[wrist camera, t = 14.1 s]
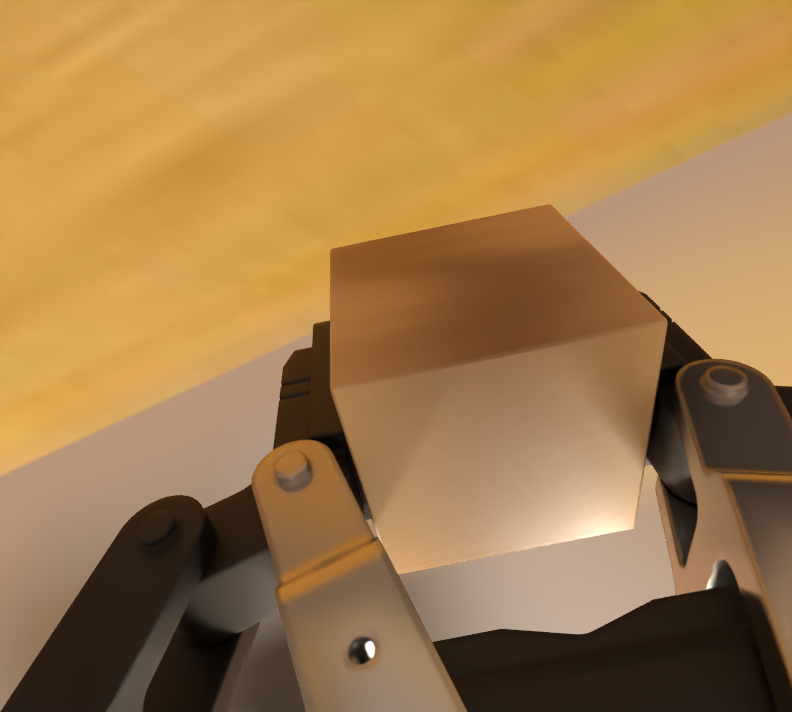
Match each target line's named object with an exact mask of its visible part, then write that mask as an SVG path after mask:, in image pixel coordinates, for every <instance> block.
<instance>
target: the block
mask: <svg viewBox="0 0 792 712" xmlns="http://www.w3.org/2000/svg"><path fill="white" fill-rule="evenodd" d="M667 325H668V322H667V319H666V318H665V317H664V316H663V315H662V314H661V313H660V312H659V311H658V310H657V309H656V308H655V307H654V306H653V305H652V304H651V303H650V302H649V301H648V300H647V299H646V298H645V297H644V296H643V295H642V294H641V293H640V292H639V291H638V290H637V289H636V288H635V287H634V286H632V285H631V284H630V283H629V282H628V281H627V280H626V279H625V278H624V277H623V276H622V275H621V274H620V273H619V272H618V271H617V270H616V269H615V268H614V267H613V266H612V265H611V264H610V263H609V262H608V261H607V260H606V259H605V258H604V257H603V256H602V255H601V254H600V253H599V252H598V251H597V250H596V249H595V248H594V247H593V246H592V245H591V244H590V243H589V242H588V241H587V240H586V239H585V238H584V237H583V236H582V235H581V234H580V233H579V232H578V231H577V230H576V229H575V228H574V227H573V226H572V225H571V224H570V223H569V222H568V221H567V220H566V219H565V218H564V217H563V216H562V215H561V214H560V213H559V212H558V211H557V210H556V209H555V208H554V207H553V206H552V205H550V204H548V205H543V206H538V207H534V208H529V209H524V210H519V211H514V212H509V213H504V214H499V215H495V216H490V217H485V218H480V219H475V220H470V221H465V222H460V223H456V224H451V225H446V226H441V227H436V228H431V229H426V230H421V231H417V232H412V233H407V234H402V235H397V236H392V237H387V238H382V239H378V240H373V241H368V242H363V243H358V244H353V245H348V246H343V247H339V248H334V249H331V251H330V391H331V394H332V397H333V400H334V403H335V407H336V410H337V413H338V416H339V419H340V422H341V425H342V428H343V431H344V434H345V438H346V441H347V444H348V447H349V450H350V453H351V456H352V459H353V462H354V466H355V469H356V472H357V475H358V478H359V481H360V484H361V487H362V490H363V493H364V497H365V500H366V503H367V506H368V509H369V512H370V515H371V518H372V521H373V524H374V527H375V531H376V534H377V537H378V538H379V540H380V541H381V543H382V544H383V546H384V548H385V550H386V552H387V554H388V556H389V558H390V560H391V562H392V564H393V566H394V568H395V570H396V572H397V574H402V573H407V572H412V571H417V570H423V569H428V568H433V567H438V566H443V565H448V564H453V563H459V562H464V561H469V560H474V559H479V558H485V557H490V556H495V555H500V554H505V553H510V552H516V551H521V550H526V549H531V548H536V547H541V546H546V545H551V544H557V543H562V542H567V541H572V540H578V539H582V538H588V537H593V536H598V535H603V534H609V533H613V532H619V531H624V530H629V529H633V528H634V527H635V524H636V517H637V511H638V504H639V498H640V492H641V486H642V480H643V474H644V467H645V461H646V455H647V449H648V443H649V437H650V430H651V424H652V418H653V412H654V405H655V399H656V393H657V387H658V381H659V374H660V368H661V362H662V356H663V350H664V343H665V337H666V331H667Z"/></svg>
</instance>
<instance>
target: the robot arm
mask: <svg viewBox="0 0 792 712" xmlns="http://www.w3.org/2000/svg"><path fill="white" fill-rule="evenodd" d="M639 292H640V291H639ZM640 293H641V294H642V295H643V296H644V297H645V298H646V299H647V300H648V301H649V302H650V303H651V304H652V305H653V306H654V307H655V308H656V309H657V310H658V311H659V312H660V313H661V314H662V315H663V316H664V317H665V318H666V319H667V322H668V325H667V331H666V337H665V343H664V350H663V356H662V362H661V368H660V374H659V381H658V387H657V393H656V399H655V405H654V412H653V418H652V424H651V430H650V437H649V443H648V449H647V455H646V461H645V466H646V465H652V466H653V467H654V469H655V470H656V472H657V473H658V477H657V482H656V488H655V489H656V496H657V500H658V505H659V510H660V514H661V520H662V524H663V529H664V534H665V538H666V543H667V548H668V553H669V557H670V562H671V567H672V572H673V576H674V583H675V596H670V597H664V598H660V599H654V600H652V601H650V602H648V603H646V604H644V605H642V606H640V607H638V608H636V609H635V610H632V611H631V612H629V613H627V614H625V615H623V616H621V617H619V618H617V619H615V620H613V621H611V622H610V623H608V624H606V625H604V626H602V627H600V628H598V629H596V630H594V631H592V632H590V633H587V634H563V633H549V632H537V631H523V630H510V629H509V630H508V629H498V630H493V631H488V632H483V633H477V634H472V635H467V636H462V637H457V638H451V639H446V640H441V641H436V642H432V641H431V639H430V637H429V635H428V633H427V631H426V629H425V627H424V625H423V623H422V621H421V619H420V617H419V615H418V614H417V611H416V610H415V607H414V605H413V603H412V601H411V600H410V598H409V595H408V594H407V591H406V589H405V588H404V586H403V584H402V582H401V580H400V578H399V576H398V574H397V572H396V570H395V568H394V566H393V564H392V562H391V560H390V558H389V556H388V554H387V552H386V550H385V548H384V546H383V544H382V543H381V541H380V540H379V538H378V537H376V538H375V537H374V535H373V533H372V531H371V529H370V527H369V525H368V523H367V521H366V520H368V519H372V518H371V515H370V512H369V509H368V506H367V503H366V500H365V497H364V493H363V490H362V487H361V484H360V481H359V478H358V475H357V472H356V469H355V466H354V462H353V459H352V456H351V453H350V450H349V447H348V444H347V441H346V438H345V434H344V431H343V428H342V425H341V422H340V419H339V416H338V413H337V410H336V407H335V403H334V400H333V397H332V394H331V391H330V321H325V322H320V323H316V324H314V325H313V343H312V347H311V348H306V349H301V350H297V351H294V352H293V354H292V355H291V357H290V358H289V360H288V361H287V363H286V364H285V365H284V367H283V374H282V382H281V383H282V387H281V391H280V401H279V406H278V415H277V423H276V431H275V439H274V447H273V451H271V452H270V453H269V454H267V455H266V456H265V457H264V458H263V459H262V460H261V461H260V463H259V464H258V466H257V467H256V469H255V471H254V473H253V476H252V484H251V485H249V486H248V487H246V488H245V489H244V490H242V491H240V492H238V493H236V494H234V495H232V496H230V497H228V498H226V499H223V500H221V501H219V502H217V503H215V504H213V505H211V506H208V507H206V508H204V509H203V507H202V506H201V504H200V503H199V502H198V501H197V500H195V499H194V498H192V497H189V496H183V495H176V496H170V497H165V498H162V499H159V500H157V501H155V502H153V503H151V504H149V505H147V506H146V507H144V508H143V509H141V510H140V511H139V512H137V513H136V514H135V515H134V516H133V517H131V518H130V519H129V521H128V522H127V523H126V524H125V525H124V526H123V528H122V529H121V530H120V532H119V533H118V535H117V536H116V538H115V539H114V541H113V543H112V544H111V545H110V547H109V548H108V550H107V552H106V553H105V555H104V556H103V558H102V559H101V561H100V562H99V564H98V565H97V567H96V568H95V570H94V571H93V573H92V574H91V576H90V577H89V579H88V580H87V582H86V583H85V585H84V587H83V588H82V589H81V591H80V592H79V594H78V595H77V597H76V598H75V600H74V601H73V603H72V604H71V606H70V608H69V609H68V610H67V612H66V613H65V615H64V616H63V618H62V620H61V621H60V623H59V624H58V626H57V627H56V629H55V630H54V632H53V633H52V635H51V636H50V638H49V639H48V641H47V642H46V644H45V645H44V647H43V648H42V650H41V651H40V653H39V654H38V656H37V657H36V659H35V660H34V662H33V663H32V665H31V666H30V668H29V669H28V671H27V672H26V674H25V675H24V677H23V678H22V680H21V682H20V683H19V684H18V686H17V687H16V689H15V691H14V692H13V694H12V695H11V697H10V698H9V700H8V701H7V703H6V704H5V706H4V707H3V709H2V710H1V712H228V710H229V707H230V704H231V702H232V699H233V696H234V693H235V691H236V688H237V685H238V682H239V680H240V677H241V674H242V671H243V669H244V666H245V663H246V660H247V658H248V655H249V652H250V649H251V647H252V644H253V641H254V638H255V635H256V633H257V630H258V627H259V624H260V621H262V620H263V619H265V618H267V617H269V616H271V615H273V614H274V613H276V612H278V611H279V612H280V616H281V619H282V623H283V627H284V630H285V634H286V638H287V642H288V645H289V649H290V653H291V657H292V660H293V664H294V668H295V671H296V675H297V679H298V682H299V686H300V690H301V694H302V697H303V701H304V704H305V708H306V712H792V387H787V386H774V385H773V383H772V382H771V381H770V380H769V379H768V378H767V377H766V376H765V375H764V374H763V373H761V372H760V371H758V370H756V369H754V368H752V367H750V366H748V365H745V364H742V363H739V362H735V361H731V360H724V359H712V358H711V357H710V356H709V355H708V354H707V353H706V352H705V351H704V350H703V349H702V348H701V347H700V346H699V345H698V344H697V343H696V342H695V341H694V340H693V339H692V338H690V336H689V335H687V334H686V333H685V332H684V331H683V330H682V329H681V328H680V327H679V326H678V325H677V324H676V323H675V322H672V319H671V318H670V317H669V316H668V315H667V314H666V313H665V312H664V311H660V307H659V306H658V305H657V304H656V303H655V302H654V301H653V300H651V299H650V298H649V297H648V296H647V295H646V294H644V293H642V292H640Z"/></svg>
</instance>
